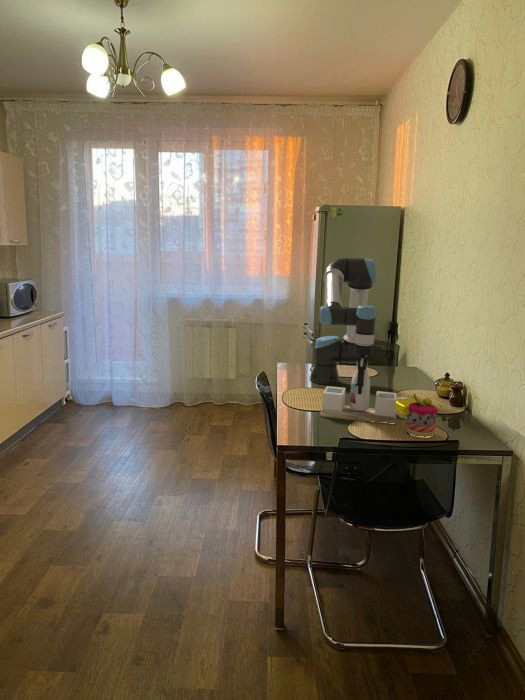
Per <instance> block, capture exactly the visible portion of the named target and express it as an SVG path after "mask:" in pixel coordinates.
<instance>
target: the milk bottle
mask: <svg viewBox="0 0 525 700" xmlns="http://www.w3.org/2000/svg"><path fill="white" fill-rule="evenodd" d="M368 366H369V360H368V361H367V365H366V370H365V373H364V383H363V384H364V389H363V401H362V402H357V401H356V389H357V386H355V384H357V377H358V368H357V367H358V362H357V364H356V369H355V372H354V373H353V376H352V379H351V382H350V396H349V406H350V408H351V409H353V410H357V411H365V410H368V408H370V407H369V406H370V394H371V393H370V391H371V378H370V374H369V371H368ZM359 383H360V382H359Z"/></svg>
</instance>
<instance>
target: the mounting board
mask: <svg viewBox="0 0 525 700" xmlns="http://www.w3.org/2000/svg"><path fill="white" fill-rule="evenodd" d="M374 414H375V407H368V410H365V411H357V410H353V409H351V408H350V405H347V404H346V405H345V404H344V408H343V411H334V410H325V409H322V408H321V411H320V413H319V417H323V418H330V419H339V420H340V419H341V420H348V421H349V420H350V421H355V422H357V420H358V422H365V421H374V422H387V423H396V424H397V411H396V412H395V417H389V416H380V415H374Z"/></svg>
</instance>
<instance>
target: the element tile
mask: <svg viewBox="0 0 525 700" xmlns="http://www.w3.org/2000/svg"><path fill="white" fill-rule="evenodd" d="M416 397H417V399H418V400H420V401H421V402H423V400H424V398H421V397H419V396H417V395H416ZM415 402H417V401H416V400H415V399H414V397H413V395H409V396H407V395H406V396H396V413H399V414H401V415H403V416H408V414H409V413H408V412H409V411H408V408H409V404H411V403H415ZM431 404H432V405H434V406H435V404H434V403H431Z"/></svg>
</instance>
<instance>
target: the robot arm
mask: <svg viewBox="0 0 525 700" xmlns="http://www.w3.org/2000/svg"><path fill="white" fill-rule="evenodd" d="M376 269H377V268H376V262H375V260H374V259H371V258H363V257H361V258H357V257H355V258H352V257H351V258H350V257H340V258H339V257H338V258H337V259H334V260H333V261H331V262H330V263H328V265H327V266H326V267H325V269H324V271H323V275H322V276H323V277H322V279H323V282H324V305H321V306H320V307H319V308H320V309H319V323H320V324H322V325H328V326H330V325H333V326H347V329H346V334H344V335H343V337H342V339H340V338H339V336H337V335H327V336H326V335H325V336H320V337H318V338H316V340H315V346H314V350H315V351H314V362H313V363H314V364H313V368H312V370H311V373H310V376H309V381H310V382H311V383H315V384H318V385H326V386H328V385H329V386H330V385H337V384H339V383H340V374H339V370H338V368H337V367H338V363H346V364H356V365H357V362H358V367H357V366H356V369H357V368H358V377H357V384H355V386H357V389H356V401H357V402H362V401H363V389H364V384H363V383H364V373H365V370H366V365H367V361H368V362H369V360H368V356H371V355H373V353H374V343H375V328H376V327H375V325H376V319H377V318H376V317H377V308H376V307H375V306H373V305H368V299H369V298H368V297H369V291H370V290H371V289H372V288H373V285H375V284H376V283H377V271H376ZM343 283H347V287H348V288H349V289H350V293H349V306H347V307H344V306H343V294H342V293H343V285H342V284H343ZM359 382H360V383H359Z"/></svg>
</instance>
